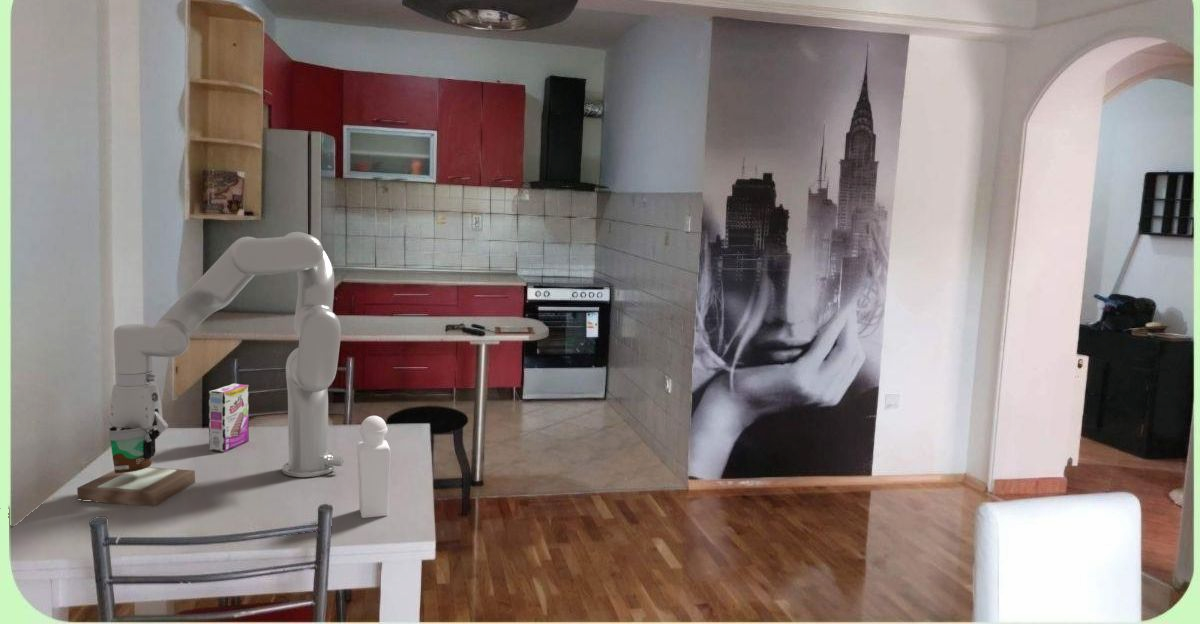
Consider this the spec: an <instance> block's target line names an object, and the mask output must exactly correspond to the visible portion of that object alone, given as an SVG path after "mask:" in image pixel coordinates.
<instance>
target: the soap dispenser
mask: <svg viewBox="0 0 1200 624" xmlns="http://www.w3.org/2000/svg"><path fill="white" fill-rule="evenodd" d="M388 430H389V429H388V426H387V424H386V421H385V420H384V419H383V418H382V417H380V416H378V415H370V416H368V417H365V419H364V420H363V421H362V422H361V424H360V428H359V434H360V435H361V437H362V440H363V441H359V442H357V443H356V450H357V473H358V475H357V476H358V477H357V479H358V499H359V501H358V502H359V503H358V504H359V505H358V506H359V511H360V517H361V519H368V518H378V517H386V516H387V517H388V515H389V502H390V501H389V499H390V473H391V472H390V471H391V448H390V445H389V443H388V441H387V440H386V439H385V437H386V434H387V433H388V432H389V431H388Z"/></svg>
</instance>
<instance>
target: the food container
mask: <svg viewBox="0 0 1200 624" xmlns="http://www.w3.org/2000/svg"><path fill="white" fill-rule="evenodd" d="M149 432H150V434H151V433H152V429H150V430H149ZM144 436H146V431H145V430H144V429H141V427H139V428H135V429H126V428H122V429H121V430H119V431H110V430H108V437H107V438H108V441H110V446H111V447H110V449H111V454H112V461H113V469H114V470H115V473H125V472H133V471H138V470H142V469H145V468H147V467H151V465H152V457H150V458H148V459H144V452H143V443H144V442H145V441H146V440H145V437H144Z"/></svg>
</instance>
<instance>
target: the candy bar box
mask: <svg viewBox="0 0 1200 624" xmlns="http://www.w3.org/2000/svg"><path fill="white" fill-rule="evenodd" d="M249 399H250V398H249V384H244V383H243V384H242V383H231V384H227V385H225V386H222V387H218V388H216V389H212V390H209V391H208V439H209V441H208V443H209V445H208V446H209V447H208V449H209V451H211V452H212V451H213V452H217V453H218V452H219V453H226V452H227V451H230V450H232V449H234V448H236V447H239V446H240V445H244V444H246V443H248V442H249V440H250V439H249V437H250V436H249V435H250V431H249V428H250V427H249V418H250V416H249V407H250V406H249V403H250V402H249Z"/></svg>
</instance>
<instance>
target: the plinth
mask: <svg viewBox="0 0 1200 624" xmlns="http://www.w3.org/2000/svg"><path fill="white" fill-rule="evenodd" d="M195 483H196V470H194V469H182V468H181V469H180V468H165V467H164V468H163V467H151V466H149V467H147V468H145V469H142V470H138V471H133V472H125V473H115V470H112V471H110V472H107V473H106V474H103V475H101V476H99V477H97V478H95V479H93V480H90V481H89V482H87V483H84V484H82V485H80V486H78V487H77V488H76V489H77V490H76V492H77V500H78V499H81V500H91V501H98V502H97V503H101V502H105V504H117V505H131V506H133V505H134V506H145V507H146V506H148V507H156V506H158V505H159V504H161V503H163V502H164V501H166V500H168V499H169V498H171V497H174V496H175V495H176V494H178V493H180V492H182V491H183V490H185V489H187V488H188V487H191V486H192V485H194V484H195Z"/></svg>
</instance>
